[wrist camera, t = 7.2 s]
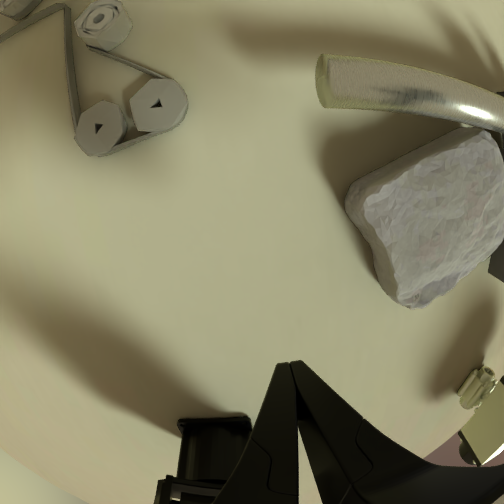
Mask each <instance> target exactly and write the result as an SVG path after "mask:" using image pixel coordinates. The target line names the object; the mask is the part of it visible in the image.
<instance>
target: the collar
mask: <svg viewBox="0 0 504 504" xmlns="http://www.w3.org/2000/svg"><path fill="white" fill-rule="evenodd" d="M497 94H498V95H500V96H502V97H504V92H497ZM502 140H503V149H501V148H499V150H500V153H501V155H502V158H503V162H504V134H503V133H502ZM488 273H490V274H491V275H493V276H494V277H496V278H498V279H499V280H501V281H502V282H504V238H503V241H502V243H501V244H500V245H499V246H498V248H497V249H496V250H495V251H494V252H493V253H492V254H491V258H490V264H489V269H488Z"/></svg>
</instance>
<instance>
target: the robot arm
mask: <svg viewBox="0 0 504 504" xmlns="http://www.w3.org/2000/svg"><path fill="white" fill-rule="evenodd" d="M177 426H178V428H179V430H180V432H181V433H182V440H181V447H180V454H179V462H178V469H177V477H173V476H172V475H166V479H163V480H158V484H157V490H156V496H155V500H154V504H299V498H298V496H299V463H298V428H299V431H300V434H301V438H302V441H303V444H304V447H305V450H306V453H307V456H308V460H309V463H310V466H311V469H312V472H313V475H314V478H315V481H316V485H317V488H318V491H319V494H320V497H321V500H322V503H323V504H504V464H502V465H498V466H491V467H456V466H441V465H436V464H433V463H430V462H428V461H425V460H424V459H422V458H420V457H418V456H417V455H415V454H413V453H412V452H410V451H408V450H407V449H405V448H404V447H402V446H400V445H399V444H397V443H396V442H394V441H393V440H391V439H390V438H388V437H387V436H385V435H384V434H383V433H381V432H380V431H379V430H378V429H376V428H375V427H374V426H373V425H372V424H370V423H369V422H368V421H367V420H366V419H363V417H362V416H361V415H360V414H359V413H358V412H357V411H356V410H355V409H353V408H352V407H351V406H350V405H349V404H348V403H347V402H346V401H345V400H344V399H343V398H341V397H340V396H339V395H338V394H337V393H336V392H335V391H334V390H333V389H332V388H331V387H330V386H328V385H327V384H326V383H325V382H324V381H323V380H322V379H321V378H320V377H319V376H318V375H317V374H316V373H315V372H314V371H313V370H311V369H310V368H309V367H308V366H307V365H306V364H305V363H304V362H303V361H302V360H298V361H291V362H290V363H288V362H284V363H278V364H277V365H276V367H275V370H274V373H273V375H272V378H271V381H270V384H269V387H268V390H267V392H266V395H265V398H264V401H263V403H262V406H261V409H260V412H259V414H258V417H257V419H256V422H255V425H254V427H253V428H252V423H251V419H250V418H248V417H237V418H220V419H179V420H178V421H177ZM172 498H177V499H180V501H176V500H172Z"/></svg>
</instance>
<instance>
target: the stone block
mask: <svg viewBox="0 0 504 504" xmlns="http://www.w3.org/2000/svg"><path fill="white" fill-rule="evenodd" d="M345 212H346V213H347V215H348V216H349V218H350V220H351V221H352V222H353V223H354V224H355V226H356V227H357V228H358V229H359V230H360V232H361V234H362V236H363V237H364V239H365V240H366V241H367V242H369V244H370V247H371V249H372V253H373V262H374V268H375V271H376V273H377V277H378V281H379V284H380V286H381V287H382V289H383V290H384V291H385V292H386V294H387V295H388V296H389V297H390V298H391V299H392V300H394V301H395V302H396V303H399V304H401V305H402V306H405V307H407V308H409V309H422V308H424V307H426V306H427V305H429V304H430V303H431V302H432V301H433V300H434V299H435V298H437V297H439V296H443V295H445V294H446V293H448V292H449V291H450V290H452V289H453V288H454V287H455V286H456V284H457V283H458V281H459V280H460V279H462V278H463V277H464V276H467V275H468V274H469V273H470V272H471V271H472V270H473V269H474V268H475V267H476V266H477V264H478V263H480V262H482V261H484V260H485V259H487V258H488V257H489V256H490V255H491V254H492V253H493V252H494V251H495V250H496V249H497V248H498V246H499V245H500V244H501V243H502V241H503V238H504V162H503V158H502V155H501V153H500V150H499V147H498V145H497V143H496V141H495V140H494V139H493V138H492V137H491V134H490V133H489V132H487V131H486V130H484V129H483V128H481V127H478V128H477V127H472V128H466V127H461V128H457V129H455V130H454V131H451V132H449V133H447V134H445V135H443V136H442V137H439V138H437V139H435V140H433V141H431V142H429V143H428V144H426V145H423V146H421V147H419V148H417V149H416V150H414V151H412V152H410V153H408V154H406V155H403V156H402V157H400V158H398V159H396V160H394V161H393V162H391V163H389V164H387V165H385V166H383V167H381V168H379V169H377V170H375V171H373V172H371V173H368V174H367V175H365V176H363V177H361V178H359V179H357V180H356V181H354V182H353V183H352V184H351V185H350V187H349V190H348V193H347V195H346V197H345Z"/></svg>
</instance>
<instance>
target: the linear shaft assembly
mask: <svg viewBox="0 0 504 504" xmlns="http://www.w3.org/2000/svg"><path fill="white" fill-rule="evenodd" d="M315 81H316V90H317V95H318V98H319V101H320V103H321V105H322V106H323V107H324V108H334V109H361V110H376V111H387V112H397V113H406V114H414V115H421V116H427V117H434V118H439V119H445V120H450V121H455V122H460V123H465V124H469V125H473V126H477V127H481V128H485V129H489V130H493V131H496V132H500V133H503V134H504V97H502V96H500V95H498V94H495V93H493V92H491V91H488V90H486V89H483V88H481V87H478V86H476V85H473V84H470V83H468V82H465V81H462V80H459V79H456V78H453V77H450V76H446V75H443V74H440V73H436V72H432V71H429V70H425V69H421V68H417V67H412V66H408V65H403V64H398V63H393V62H388V61H382V60H376V59H369V58H361V57H353V56H343V55H330V54H321V55H320V56H319V58H318V60H317V64H316V71H315Z"/></svg>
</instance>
